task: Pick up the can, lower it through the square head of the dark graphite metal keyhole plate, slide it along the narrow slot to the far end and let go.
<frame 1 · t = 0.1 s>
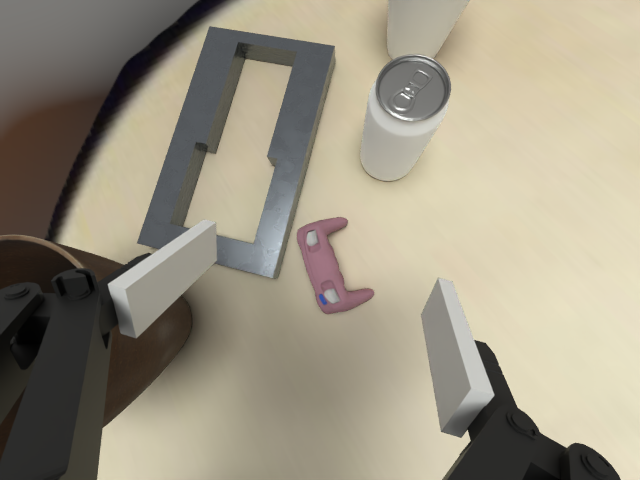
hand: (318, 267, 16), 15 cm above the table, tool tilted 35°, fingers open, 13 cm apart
can: (386, 157, 33), on the table
plant pot: (162, 320, 32), on the table
foam cup: (412, 47, 35), on the table
video game controller: (335, 265, 32), on the table
keyhole plate: (245, 151, 34), on the table
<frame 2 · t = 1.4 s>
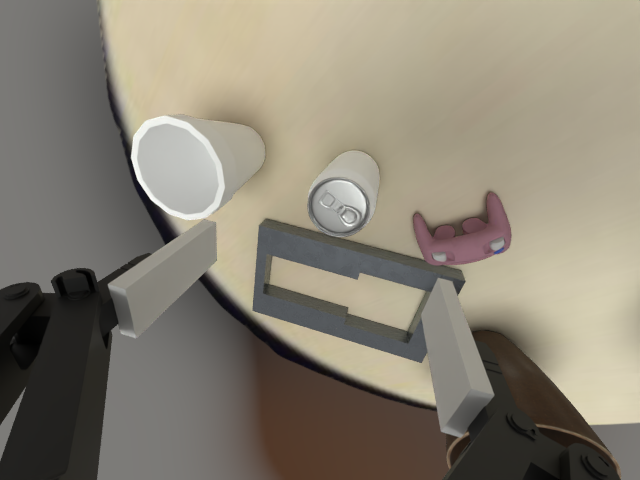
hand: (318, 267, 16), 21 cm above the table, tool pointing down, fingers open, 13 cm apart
can: (353, 175, 35), on the table
plant pot: (481, 347, 42), on the table
foam cup: (244, 149, 37), on the table
video game controller: (455, 222, 35), on the table
keyhole plate: (347, 287, 43), on the table
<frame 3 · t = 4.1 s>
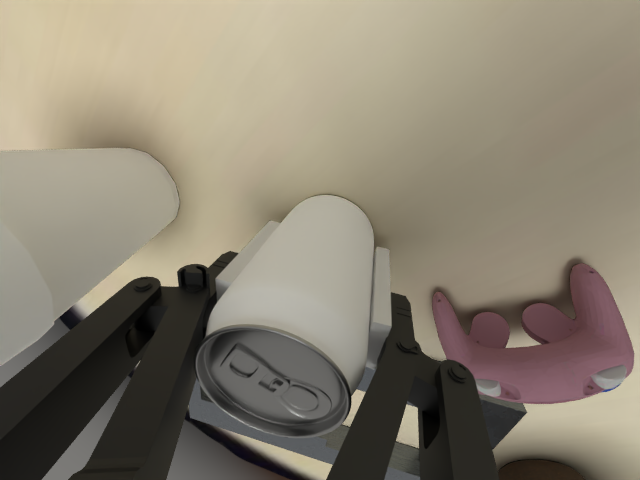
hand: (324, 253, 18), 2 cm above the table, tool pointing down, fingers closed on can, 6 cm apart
can: (329, 234, 20), on the table, touching gripper
plant pot: (535, 477, 28), on the table
foam cup: (144, 189, 22), on the table
video game controller: (506, 304, 20), on the table
keyhole plate: (328, 390, 28), on the table
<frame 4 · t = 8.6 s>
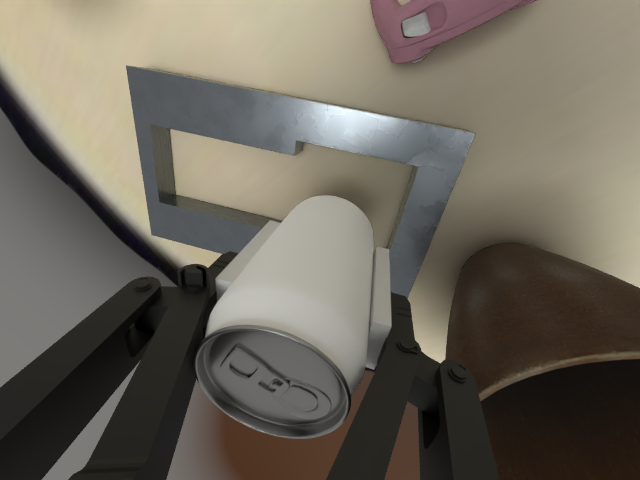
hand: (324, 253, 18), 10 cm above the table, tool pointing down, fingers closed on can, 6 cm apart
can: (329, 235, 20), point 8 cm above the table, touching gripper
plant pot: (498, 275, 27), on the table
keyhole plate: (287, 187, 27), on the table
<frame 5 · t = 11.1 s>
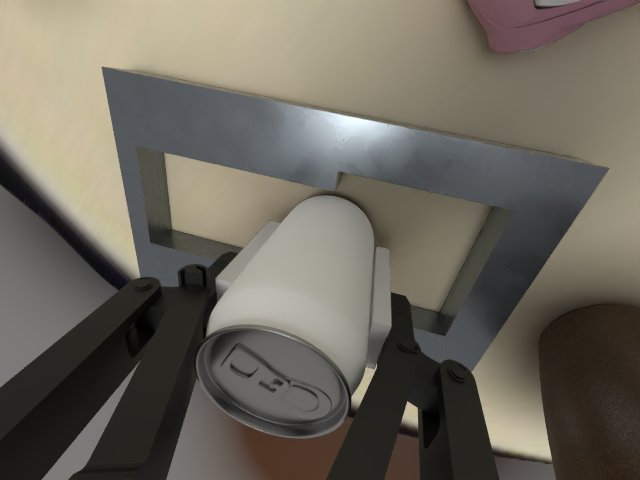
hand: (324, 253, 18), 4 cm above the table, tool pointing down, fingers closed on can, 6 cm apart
can: (329, 235, 20), point 1 cm above the table, touching gripper
plant pot: (591, 340, 21), on the table
keyhole plate: (317, 225, 21), on the table
when the fingers open (3 cm above the table, at t = 13.2 s): can stays where it is, resting in keyhole plate.
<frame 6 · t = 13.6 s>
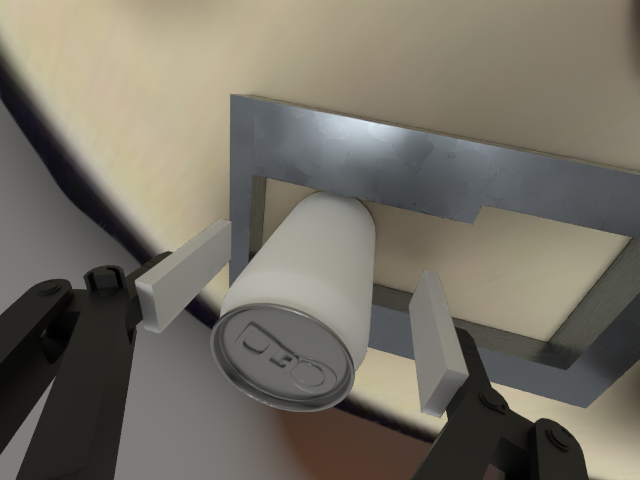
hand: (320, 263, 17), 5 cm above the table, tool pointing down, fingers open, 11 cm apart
can: (332, 229, 21), resting in keyhole plate
keyhole plate: (426, 253, 20), on the table
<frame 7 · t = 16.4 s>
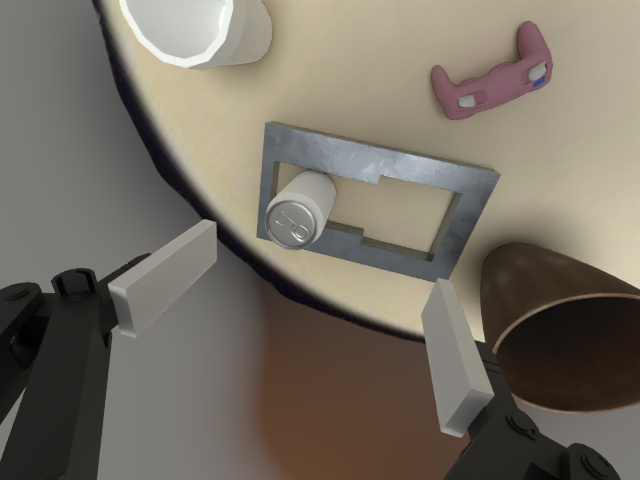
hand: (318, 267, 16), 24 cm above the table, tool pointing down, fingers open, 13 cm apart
can: (314, 191, 39), resting in keyhole plate
plant pot: (509, 265, 39), on the table
foam cup: (247, 30, 32), on the table
video game controller: (480, 76, 30), on the table
keyhole plate: (363, 203, 38), on the table
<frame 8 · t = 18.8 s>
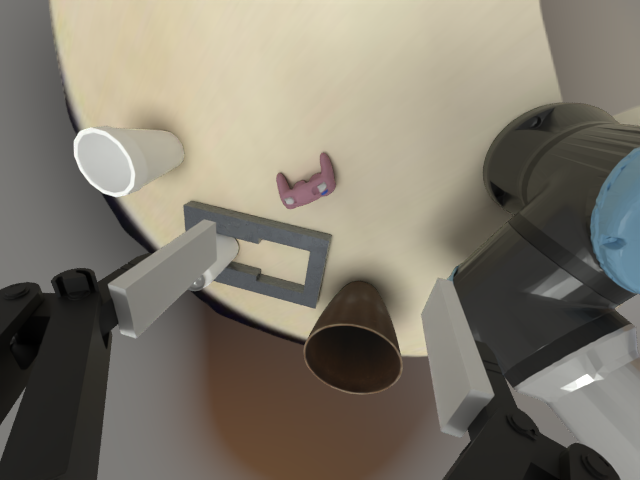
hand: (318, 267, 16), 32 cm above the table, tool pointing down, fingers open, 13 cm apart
can: (225, 244, 57), resting in keyhole plate
plant pot: (359, 295, 56), on the table
foam cup: (169, 149, 50), on the table
video game controller: (309, 178, 47), on the table
keyhole plate: (257, 252, 56), on the table
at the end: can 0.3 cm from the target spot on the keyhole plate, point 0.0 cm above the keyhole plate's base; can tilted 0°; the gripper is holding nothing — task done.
